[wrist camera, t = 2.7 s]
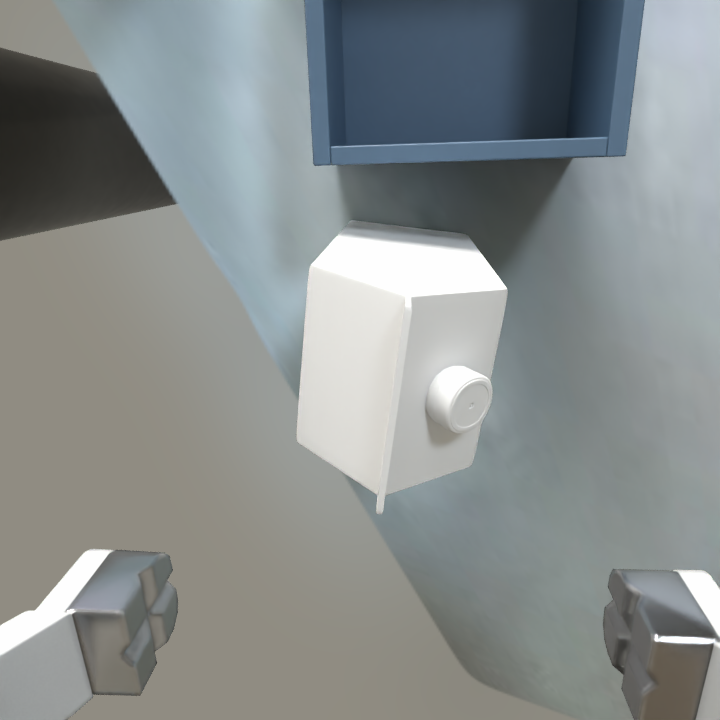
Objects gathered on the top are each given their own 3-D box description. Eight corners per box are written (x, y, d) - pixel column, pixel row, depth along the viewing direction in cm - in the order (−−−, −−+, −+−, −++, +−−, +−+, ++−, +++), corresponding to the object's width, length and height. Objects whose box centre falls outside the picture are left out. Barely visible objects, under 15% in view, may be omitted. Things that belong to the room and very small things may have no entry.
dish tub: (335, 163, 33) (313, 165, 25) (323, -124, 28) (291, -225, 21) (574, 156, 32) (625, 156, 24) (602, -145, 27) (677, -261, 19)
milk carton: (339, 330, 36) (272, 499, 18) (350, 218, 34) (285, 289, 16) (448, 344, 36) (487, 530, 18) (467, 233, 33) (535, 321, 16)
